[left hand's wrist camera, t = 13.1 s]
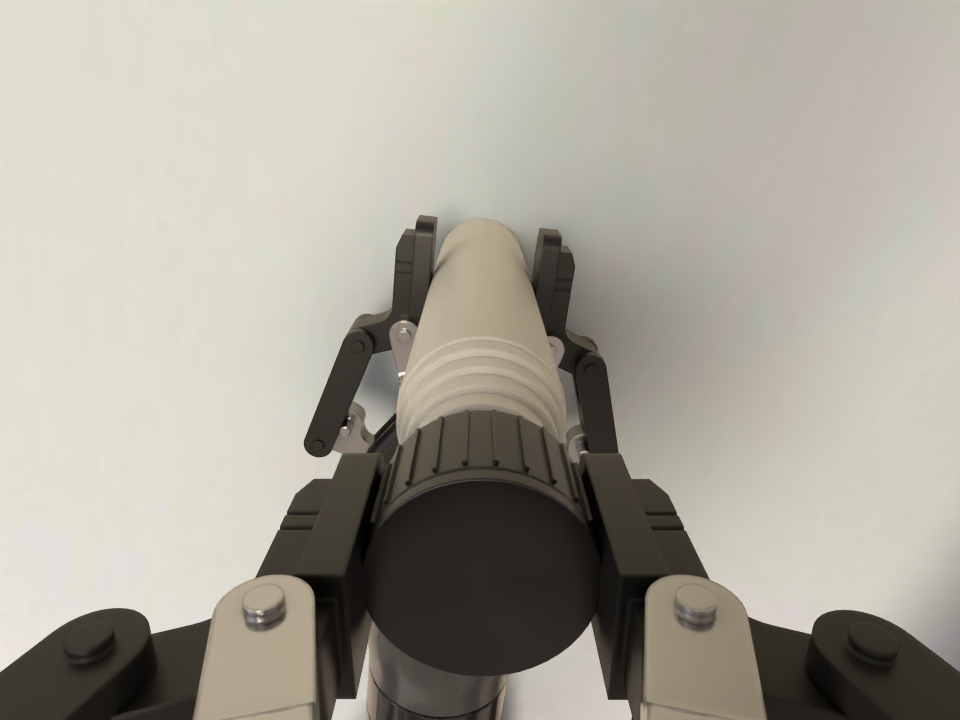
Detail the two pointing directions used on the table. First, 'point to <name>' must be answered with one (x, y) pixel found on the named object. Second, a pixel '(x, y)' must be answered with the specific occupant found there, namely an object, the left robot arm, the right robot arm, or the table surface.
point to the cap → (481, 546)
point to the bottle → (481, 338)
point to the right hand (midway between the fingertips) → (489, 227)
